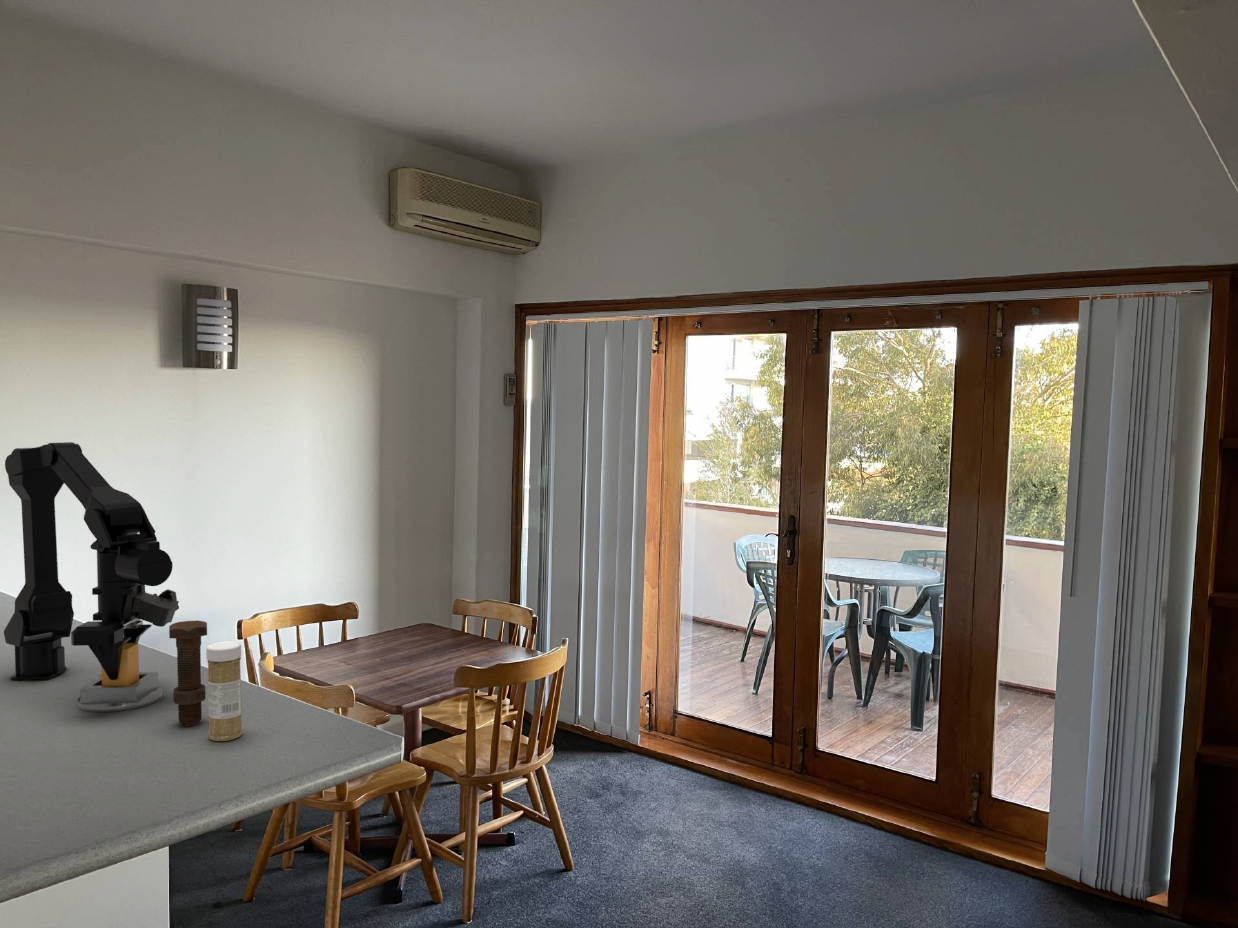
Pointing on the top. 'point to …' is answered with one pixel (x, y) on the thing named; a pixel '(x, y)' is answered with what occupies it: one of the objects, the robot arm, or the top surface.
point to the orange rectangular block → (125, 667)
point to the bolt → (189, 670)
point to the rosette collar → (120, 694)
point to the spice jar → (224, 690)
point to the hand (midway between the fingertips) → (120, 675)
